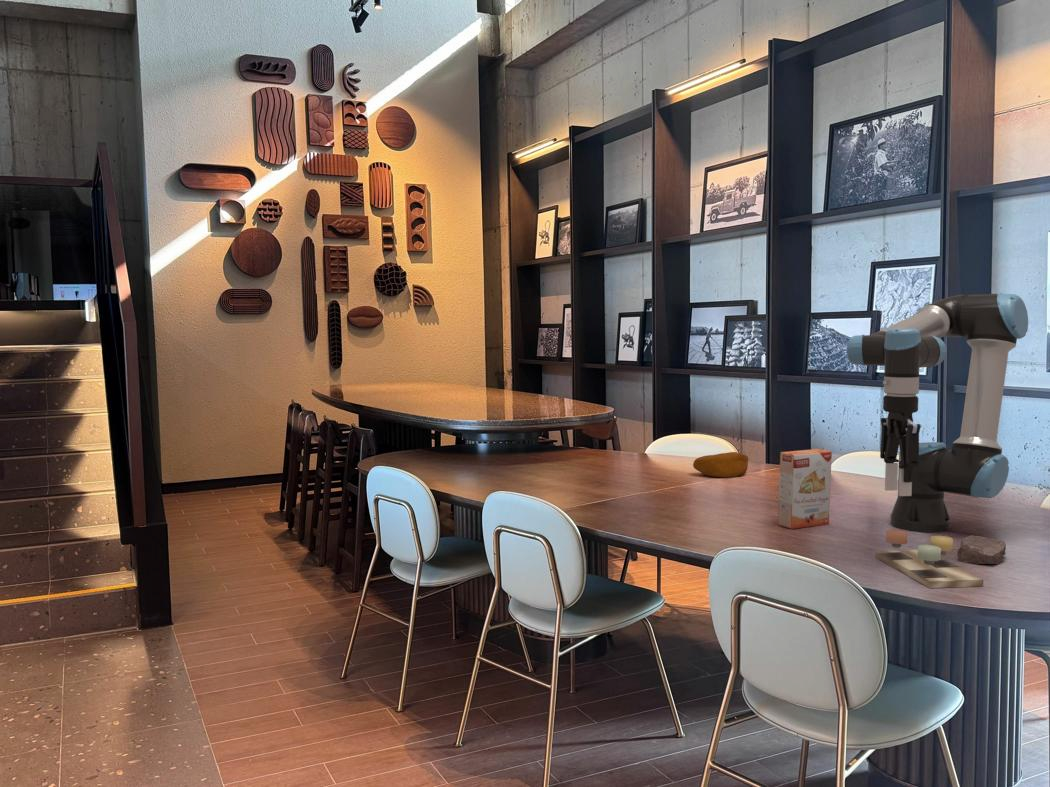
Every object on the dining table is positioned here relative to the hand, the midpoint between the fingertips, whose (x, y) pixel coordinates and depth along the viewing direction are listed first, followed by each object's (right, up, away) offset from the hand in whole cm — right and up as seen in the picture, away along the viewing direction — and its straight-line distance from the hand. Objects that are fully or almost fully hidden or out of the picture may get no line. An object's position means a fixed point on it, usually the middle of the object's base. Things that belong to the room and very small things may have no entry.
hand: (897, 492), depth 203 cm
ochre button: (+8, -13, -5) cm, 16 cm away
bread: (-16, -7, +114) cm, 115 cm away
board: (+4, -17, -5) cm, 19 cm away
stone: (+22, -17, +4) cm, 28 cm away
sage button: (+1, -14, -13) cm, 19 cm away
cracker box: (-10, -14, +39) cm, 42 cm away
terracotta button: (0, -13, +1) cm, 13 cm away
